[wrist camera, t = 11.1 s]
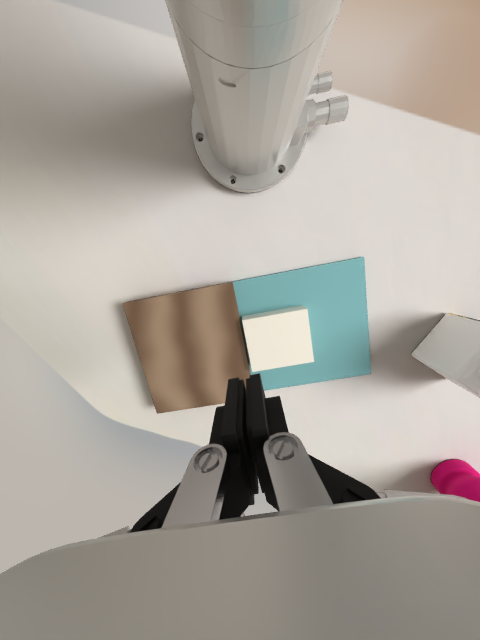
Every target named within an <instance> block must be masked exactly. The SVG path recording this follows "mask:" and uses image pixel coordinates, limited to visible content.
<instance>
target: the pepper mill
mask: <svg viewBox="0 0 480 640" xmlns="http://www.w3.org/2000/svg"><path fill="white" fill-rule="evenodd" d="M431 482H432V484H433V486H434V487H435V488H436V489H437V491H438V492H439V493H440V494H446V495H455V496H460V497H464V498H466V499H468V500H472V501H477V502H480V474H479V473H478V472H477V471H476V470H475V469H474V468H472V467H471V466H470V465H469V464H468V463H466V462H465V461H462V460H456V459H452V460H447V461H444V462H442V463H440V464H439V465H438V466H436V468H435V469H434V470H433V472H432V474H431Z"/></svg>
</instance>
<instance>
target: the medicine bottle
mask: <svg viewBox="0 0 480 640" xmlns="http://www.w3.org/2000/svg"><path fill="white" fill-rule="evenodd" d="M412 356H413V357H414V358H416V359H417V360H419V361H420V362H422V363H423V364H425V365H426V366H428V367H429V368H431V369H433V370H434V371H436V372H437V373H439V374H440V375H442V376H443V377H445V378H446V379H448V380H450V381H451V382H453V383H455V384H457V385H458V386H460V387H462V388H464V389H465V390H467V391H469V392H471V393H472V394H474V395H476V396H478V397H479V398H480V320H476V319H472V318H468V317H463V316H459V315H455V314H451V313H447V314H445V316H444V317H443V318H442V319H441V320H440V321H439V323H438V324H437V325H436V326H435V327H434V328H433V329H432V331H431V332H430V333H429V334H428V335H427V336H426V338H425V339H424V340H423V341H422V342H421V343H420V344H419V346H418V347H417V348H416V349H415V350H414V351H413V353H412Z"/></svg>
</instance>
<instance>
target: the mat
mask: <svg viewBox="0 0 480 640" xmlns="http://www.w3.org/2000/svg"><path fill="white" fill-rule="evenodd" d="M233 285H234V290H235V295H236V300H237V306H238V311H239V316H240V321H241V326H242V331H243V337H244V342H245V347H246V352H247V357H248V362H249V367H250V373H251V375H254V374H259V373H260V376H261V380H262V385H263V389H264V391H265V390H271V389H277V388H284V387H290V386H297V385H303V384H309V383H316V382H322V381H328V380H335V379H341V378H348V377H354V376H360V375H367V374H371V365H370V348H369V331H368V315H367V298H366V281H365V265H364V257H360V258H355V259H349V260H344V261H339V262H334V263H328V264H323V265H318V266H313V267H307V268H302V269H297V270H292V271H286V272H281V273H276V274H270V275H265V276H260V277H255V278H249V279H244V280H239V281H234V282H233ZM301 305H303V306H304V307H306V308H307V309H308V317H309V325H310V333H311V341H312V349H313V357H314V362H310V363H304V364H298V365H292V366H286V367H280V368H274V369H268V370H262V371H256V372H252V369H251V363H250V358H249V353H248V348H247V343H246V338H245V333H244V328H243V323H242V316H246V315H252V314H257V313H263V312H268V311H274V310H279V309H285V308H290V307H296V306H301Z"/></svg>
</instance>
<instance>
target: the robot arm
mask: <svg viewBox="0 0 480 640" xmlns="http://www.w3.org/2000/svg"><path fill="white" fill-rule="evenodd" d="M165 2H166V5H167V8H168V12H169V15H170V18H171V22H172V24H173V28H174V31H175V34H176V38H177V41H178V44H179V48H180V51H181V54H182V58H183V61H184V64H185V67H186V71H187V74H188V77H189V81H190V84H191V87H192V90H193V94H194V97H195V101H194V105H193V109H192V118H191V128H192V138H193V142H194V146H195V149H196V152H197V154H198V157H199V159H200V160H201V162H202V164H203V166H204V168H205V169H206V170H207V172H208V173H209V174H210V175H211V176H212V177H213V178H214V179H215V180H216V181H217V182H218V183H220V184H221V185H223V186H225V187H227V188H229V189H232V190H235V191H238V192H246V193H251V192H259V191H262V190H266V189H269V188H270V187H272V186H274V185H276V184H278V183H279V182H280V181H281V180H282V179H284V178H285V177H286V176H287V175H288V174H289V172H290V171H291V170H292V169H293V168H294V166H295V164H296V162H297V161H298V159H299V157H300V155H301V153H302V150H303V148H304V145H305V141H306V138H307V133H308V132H312V131H313V130H314V127H315V126H318V125H323V124H325V125H327V124H332V123H336V122H340V121H344V120H345V119H346V116H347V113H348V97H347V96H346V95H343V96H339V97H335V98H330V99H327V100H326V101H323V102H319V103H315V101H314V100H313V99H311V100H306V99H307V97H308V95H310V94H314V93H316V94H318V93H322V92H326V91H329V90H330V89H331V85H332V72H331V71H327V72H323V73H319V74H317V75H316V72H317V69H318V67H319V64H320V61H321V59H322V56H323V54H324V51H325V48H326V45H327V42H328V40H329V37H330V34H331V32H332V29H333V27H334V24H335V21H336V19H337V16H338V13H339V11H340V8H341V5H342V3H343V0H165ZM200 139H203V141H201V142H199V140H200ZM279 170H282V173H279V172H278V171H279ZM232 180H235V183H234V184H232V183H231V181H232ZM258 479H259V483H260V486H261V490H262V493H265V496H266V500H267V502H268V503H269V504H271V505H272V506H273V507H274V508H276V509H277V510H278V512H273V513H265V514H257V515H250V516H245V514H244V511H245V510H246V508H247V507H248V506H249V505H253V504H254V494H258ZM0 640H480V502H477V501H472V500H468V499H466V498H464V497H460V496H455V495H446V494H434V493H422V492H410V491H398V490H386V489H385V493H376V492H375V491H374V490H373V489H371V488H370V487H368V486H367V485H365V484H363V483H361V482H359V481H358V480H356V479H354V478H352V477H350V476H348V475H346V474H344V473H342V472H341V471H339V470H337V469H335V468H333V467H331V466H329V465H327V464H326V463H324V462H322V461H320V460H318V459H316V458H314V457H312V456H310V455H309V454H307V452H306V450H305V448H304V446H303V444H302V442H301V440H300V439H299V438H298V437H297V436H295V435H294V434H291V433H289V432H288V428H287V424H286V420H285V416H284V412H283V408H282V404H281V400H280V396H276V397H271V398H265V394H264V389H263V385H262V380H261V376H260V373H259V374H254V375H250V378H247V379H246V388H245V384H244V380H243V379H242V380H240V379H239V377H238V378H232V379H228V385H227V392H226V400H225V406H221V407H217V408H216V411H215V416H214V422H213V427H212V432H211V437H210V442H209V445H206V446H204V447H202V448H200V449H199V450H198V451H197V452H196V453H195V454H194V455H193V457H192V458H191V460H190V463H189V465H188V467H187V469H186V472H185V474H184V476H183V479H182V481H181V483H179V484H178V485H177V486H176V487H175V488H174V489H173V490H172V491H170V492H169V493H168V494H167V495H166V496H165V497H164V498H163V499H162V500H160V501H159V502H158V503H157V504H156V505H155V506H154V507H153V508H151V509H150V510H149V511H148V512H147V513H146V514H145V515H144V516H143V517H141V518H140V519H139V521H138V522H137V523H136V524H135V525H134V526H133V528H132V529H130V528H129V526H127V527H125V528H122V529H120V530H117V531H115V532H112V533H109V534H107V535H104V536H102V537H99V538H97V539H91V540H86V541H81V542H77V543H72V544H67V545H64V546H61V547H57V548H54V549H51V550H48V551H45V552H43V553H40V554H38V555H35V556H33V557H30V558H28V559H27V560H25V561H23V562H21V563H19V564H17V565H15V566H13V567H11V568H9V569H8V570H6V571H5V572H3V573H1V574H0Z"/></svg>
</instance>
